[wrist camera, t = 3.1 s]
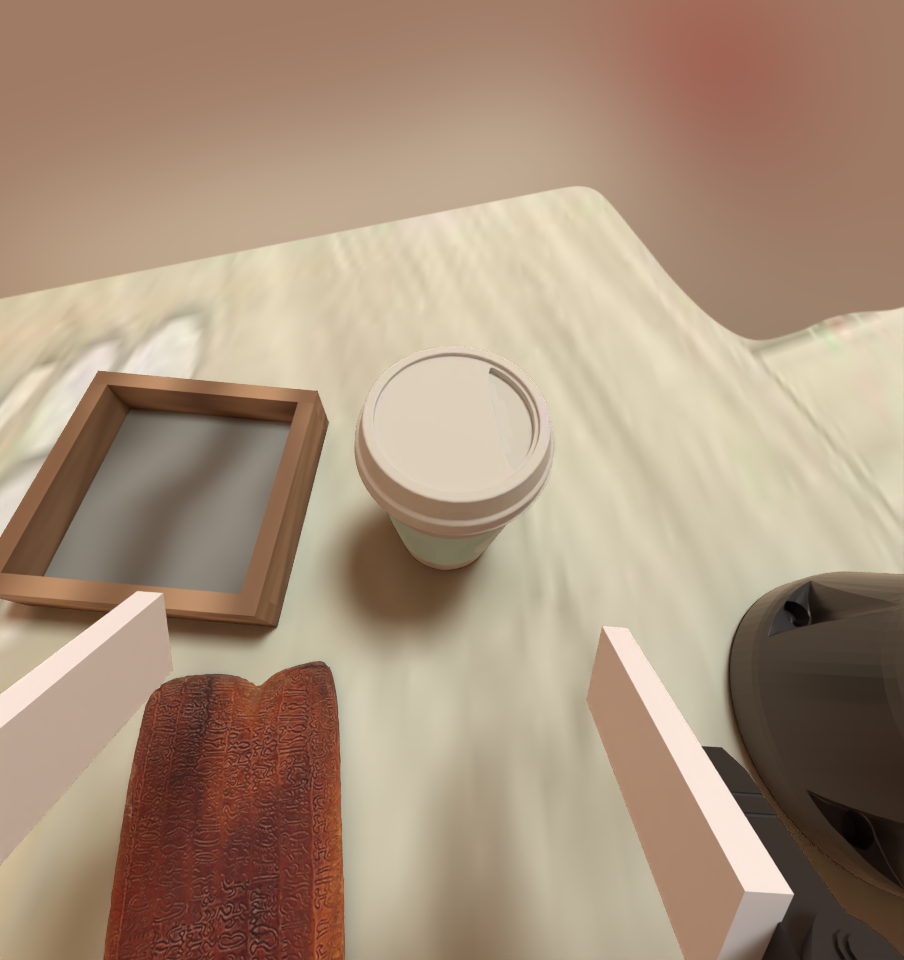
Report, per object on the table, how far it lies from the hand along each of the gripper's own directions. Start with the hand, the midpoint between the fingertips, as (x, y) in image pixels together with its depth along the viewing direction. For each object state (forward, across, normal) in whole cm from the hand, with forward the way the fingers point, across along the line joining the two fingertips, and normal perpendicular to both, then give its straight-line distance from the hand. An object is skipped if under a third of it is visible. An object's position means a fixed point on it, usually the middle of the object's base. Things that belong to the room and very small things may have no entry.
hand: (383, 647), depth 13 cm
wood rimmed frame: (+15, -14, -2) cm, 21 cm away
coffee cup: (+15, +2, -2) cm, 15 cm away
